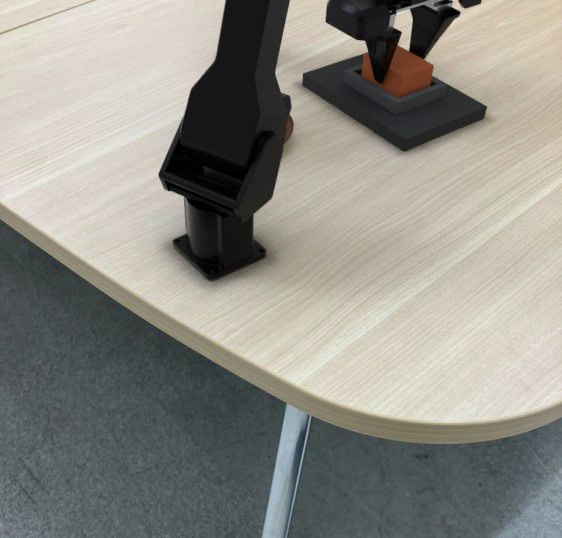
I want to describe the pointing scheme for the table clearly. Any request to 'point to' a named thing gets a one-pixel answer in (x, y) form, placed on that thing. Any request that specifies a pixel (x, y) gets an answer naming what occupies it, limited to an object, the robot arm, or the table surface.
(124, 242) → the table surface
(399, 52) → the reddish brown rectangular block
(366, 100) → the black base pad
